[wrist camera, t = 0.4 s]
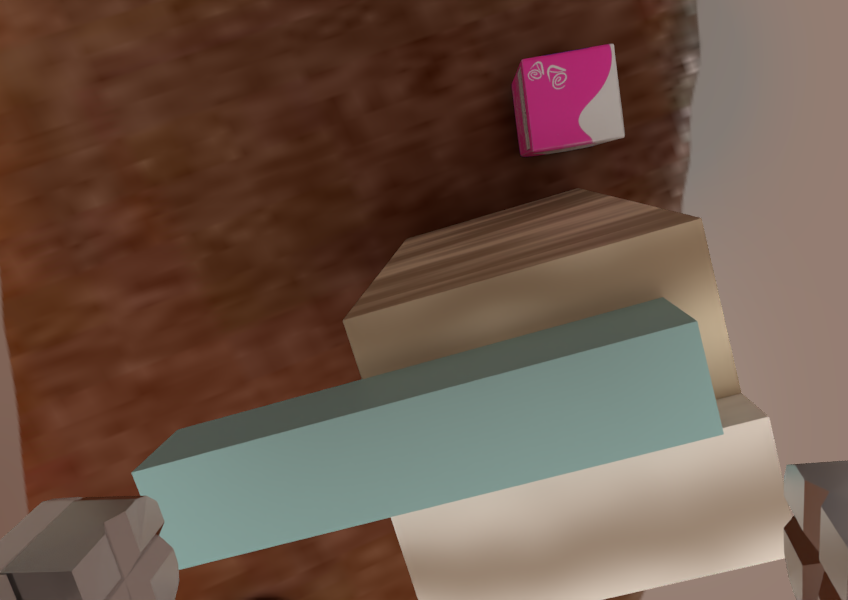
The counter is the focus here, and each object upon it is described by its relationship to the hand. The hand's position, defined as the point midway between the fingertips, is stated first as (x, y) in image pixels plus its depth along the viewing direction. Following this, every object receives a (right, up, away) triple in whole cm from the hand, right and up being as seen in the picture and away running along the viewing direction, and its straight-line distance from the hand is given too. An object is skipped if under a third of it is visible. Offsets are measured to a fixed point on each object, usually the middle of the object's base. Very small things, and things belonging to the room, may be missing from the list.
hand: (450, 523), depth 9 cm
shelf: (+7, +3, +47) cm, 48 cm away
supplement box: (+9, +17, +44) cm, 48 cm away
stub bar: (0, -2, +19) cm, 19 cm away
